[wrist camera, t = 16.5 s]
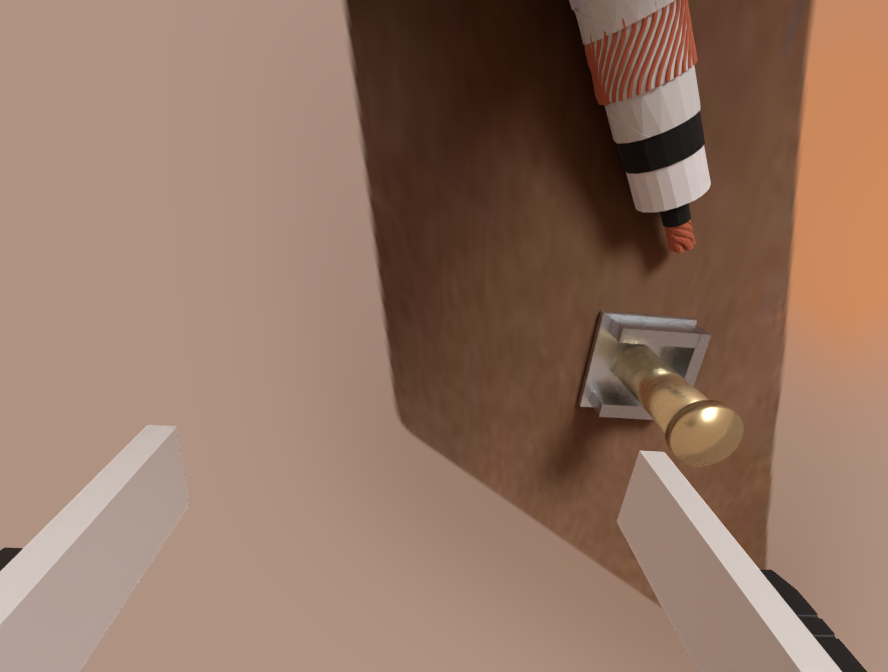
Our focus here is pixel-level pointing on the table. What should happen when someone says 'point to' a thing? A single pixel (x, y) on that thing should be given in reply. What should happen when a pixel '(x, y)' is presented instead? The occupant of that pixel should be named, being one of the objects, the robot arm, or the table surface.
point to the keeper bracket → (622, 331)
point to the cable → (650, 102)
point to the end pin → (679, 409)
